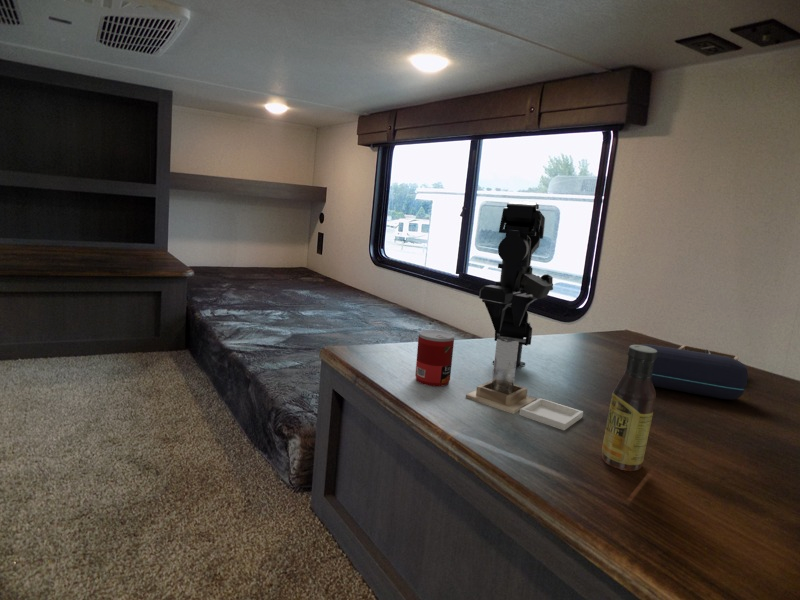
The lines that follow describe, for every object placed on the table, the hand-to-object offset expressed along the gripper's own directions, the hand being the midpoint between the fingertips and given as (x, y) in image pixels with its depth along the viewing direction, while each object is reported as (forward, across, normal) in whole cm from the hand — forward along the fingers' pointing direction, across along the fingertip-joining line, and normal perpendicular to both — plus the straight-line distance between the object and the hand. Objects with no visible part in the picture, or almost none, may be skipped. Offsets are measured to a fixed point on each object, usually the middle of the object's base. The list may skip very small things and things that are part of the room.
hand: (507, 328), depth 116 cm
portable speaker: (+13, +32, -31) cm, 47 cm away
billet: (+12, -11, -6) cm, 17 cm away
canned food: (+13, -12, +11) cm, 21 cm away
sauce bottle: (+13, -20, -33) cm, 41 cm away
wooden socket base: (+13, -11, -6) cm, 18 cm away
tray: (+13, -11, -17) cm, 24 cm away
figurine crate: (+13, +57, -32) cm, 67 cm away
